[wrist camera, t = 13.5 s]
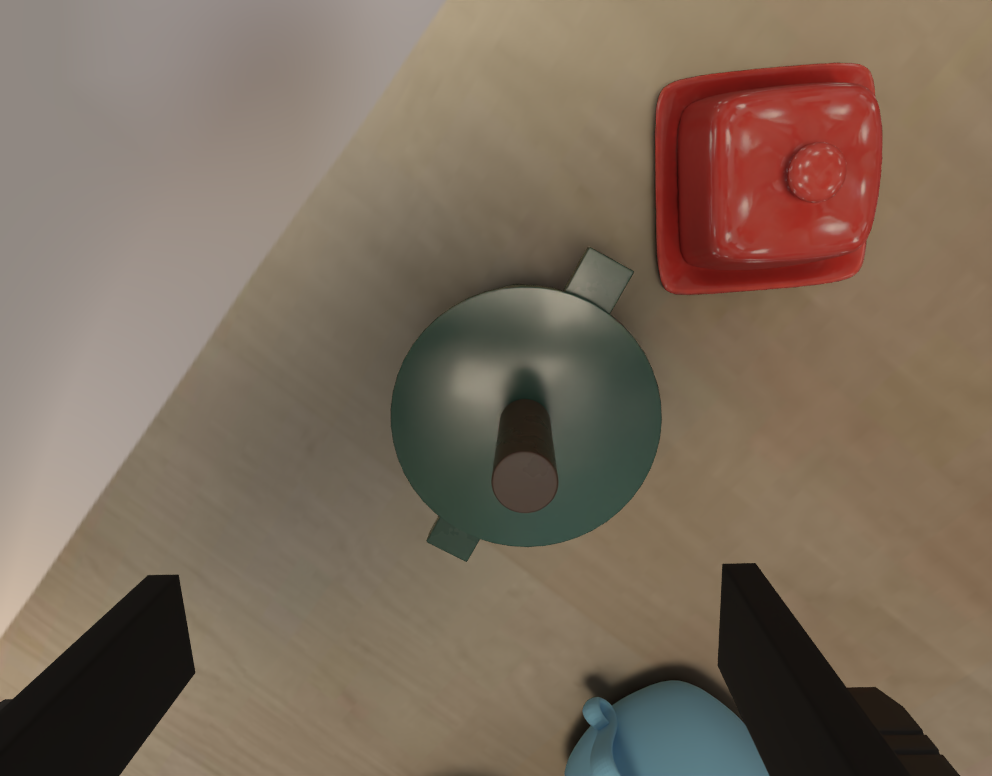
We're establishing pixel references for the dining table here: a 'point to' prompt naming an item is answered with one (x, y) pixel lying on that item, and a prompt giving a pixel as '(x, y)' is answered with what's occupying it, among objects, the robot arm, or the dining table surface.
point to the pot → (590, 281)
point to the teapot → (664, 736)
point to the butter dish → (766, 177)
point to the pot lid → (526, 416)
